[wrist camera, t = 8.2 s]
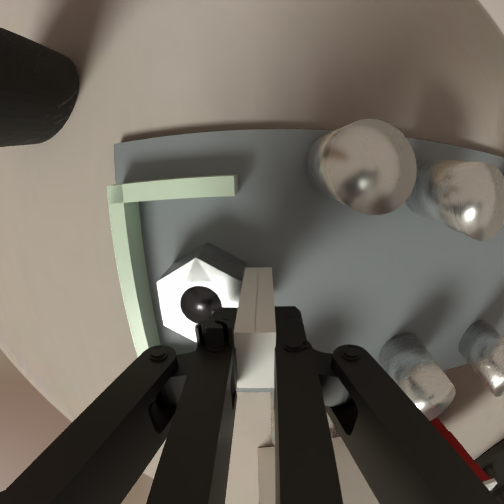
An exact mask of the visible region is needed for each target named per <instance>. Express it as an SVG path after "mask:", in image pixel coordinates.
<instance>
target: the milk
mask: <svg viewBox="0 0 504 504" xmlns="http://www.w3.org/2000/svg"><path fill="white" fill-rule="evenodd" d="M332 443H333V448H334V454H335V459H336V465H337V470H338V476H339V481H340V487H341V493H342V499H343V504H379V502H378V500H377V499H376V497H375V495H374V494H373V492H372V490H371V488H370V487H369V485H368V483H367V482H366V480H365V478H364V476H363V475H362V473H361V471H360V469H359V468H358V466H357V464H356V463H355V461H354V459H353V457H352V456H351V454H350V452H349V450H348V449H347V447H346V445H345V443H344V442H343V440H342V438H341V436H340V437H335V438H332ZM258 484H259V504H275V446H274V447H263V448H258Z"/></svg>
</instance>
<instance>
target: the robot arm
mask: <svg viewBox="0 0 504 504" xmlns="http://www.w3.org/2000/svg"><path fill="white" fill-rule="evenodd" d="M195 334H196V341H197V348H196V351H193V352H190V353H185V354H178V355H176V351H175V350H174V349H173V348H172V347H169V346H164V345H157V346H153V347H150V348H148V349H147V350H145V351H144V352H143V353H142V354H141V355H140V356H139V357H138V358H137V359H136V360H135V361H134V362H133V363H132V364H131V365H130V366H129V367H128V368H127V369H126V370H125V371H124V372H122V373H121V374H120V375H119V376H118V377H117V378H116V379H115V380H114V381H113V382H112V383H111V384H110V385H109V386H108V387H107V388H106V389H105V390H104V391H103V392H102V393H101V394H100V395H99V396H98V397H97V398H96V399H95V400H94V401H93V402H92V403H91V404H90V405H89V406H88V407H87V408H86V409H85V410H84V411H83V412H82V413H81V414H80V415H79V416H78V417H77V418H76V419H75V420H74V421H73V422H72V423H71V424H70V425H69V426H68V427H67V428H66V429H65V430H64V432H62V434H60V435H59V436H58V437H57V438H56V439H55V440H54V441H53V442H52V443H51V444H50V445H49V446H48V447H47V448H46V449H45V450H44V451H43V452H42V453H41V455H39V456H38V457H37V458H36V460H35V461H33V462H32V464H31V465H30V466H29V467H28V468H27V469H26V470H25V471H24V472H23V473H22V474H21V475H20V476H19V477H18V478H17V479H16V480H15V481H14V482H13V483H12V484H11V485H10V486H9V487H8V488H7V489H6V490H4V491H2V492H0V504H121V502H122V501H123V499H124V498H125V497H126V495H127V494H128V493H129V491H130V490H131V488H132V487H133V486H134V484H135V483H136V481H137V480H138V478H139V477H140V476H141V474H142V473H143V471H144V470H145V468H146V467H147V466H148V464H149V463H150V461H151V460H152V458H153V457H154V455H155V454H156V453H157V451H158V450H159V448H160V447H161V445H162V444H163V442H164V441H165V439H166V438H167V439H166V442H165V445H164V448H163V451H162V454H161V457H160V461H159V464H158V467H157V470H156V473H155V477H154V480H153V483H152V486H151V490H150V493H149V496H148V500H147V503H146V504H225V497H226V488H227V480H228V471H229V462H230V454H231V445H232V436H233V427H234V419H235V410H236V401H237V391H236V387H238V388H274V419H275V504H343V499H342V493H341V487H340V481H339V476H338V470H337V465H336V459H335V454H334V448H333V443H332V438H331V433H330V428H329V423H328V418H327V414H328V415H329V417H330V419H331V421H332V422H333V424H334V426H335V428H336V429H337V431H338V433H339V435H340V436H341V438H342V440H343V442H344V443H345V445H346V447H347V449H348V450H349V452H350V454H351V456H352V457H353V459H354V461H355V463H356V464H357V466H358V468H359V469H360V471H361V473H362V475H363V476H364V478H365V480H366V482H367V483H368V485H369V487H370V488H371V490H372V492H373V494H374V495H375V497H376V499H377V500H378V502H379V504H504V440H503V441H501V442H500V443H498V444H497V445H495V446H494V447H493V448H491V449H490V450H488V451H487V452H486V453H484V454H483V455H482V456H481V457H479V458H478V459H477V460H476V461H475V462H476V463H478V465H479V466H480V467H481V469H482V470H484V472H485V473H486V474H487V475H488V476H489V477H491V479H493V478H494V479H495V480H496V482H497V484H496V485H495V486H494V488H493V489H492V490H490V491H489V490H488V488H487V487H486V486H485V485H484V484H483V482H482V481H481V480H480V479H479V478H478V476H477V475H476V474H475V473H474V472H473V470H472V469H471V468H470V467H469V466H468V465H467V463H466V462H465V461H464V460H463V459H462V458H461V456H460V455H459V454H458V453H457V452H456V451H455V449H454V448H453V447H452V446H451V445H450V444H449V442H448V441H447V440H446V439H445V438H444V437H443V436H442V434H441V433H440V432H439V431H438V430H437V429H436V427H435V426H434V425H433V424H432V423H431V422H430V421H429V419H428V418H427V417H426V416H425V415H424V414H423V413H422V412H421V410H420V409H419V408H418V407H417V406H416V405H415V404H414V403H413V401H412V400H411V399H410V398H409V397H408V396H407V395H406V394H405V392H404V391H403V390H402V389H401V388H400V387H399V386H398V385H397V383H396V382H395V381H394V380H393V379H392V378H391V377H390V376H389V375H388V373H387V372H386V371H385V370H384V369H383V368H382V367H381V366H380V365H379V364H378V362H377V361H376V360H375V359H374V358H373V357H372V356H371V355H370V354H369V353H368V351H367V350H365V349H364V348H363V347H360V346H357V345H351V344H347V345H342V346H339V347H337V348H336V349H335V350H334V352H333V354H331V353H324V352H320V351H317V350H315V349H313V348H312V345H311V344H310V342H309V341H307V338H306V334H305V329H304V324H303V320H302V316H301V311H300V310H299V309H298V308H296V307H295V306H274V292H273V277H272V267H254V268H245V271H244V277H243V282H242V288H241V293H240V299H239V305H238V307H220V308H219V309H217V310H216V311H215V312H214V314H213V317H212V319H207V320H204V321H201V322H200V323H198V324H197V325H196V326H195ZM326 412H327V413H326Z"/></svg>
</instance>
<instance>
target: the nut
mask: <svg viewBox="0 0 504 504" xmlns="http://www.w3.org/2000/svg"><path fill="white" fill-rule="evenodd" d="M245 268H247V262H245V261H243V260H241V259H239V258H237V257H235V256H233V255H232V254H230V253H228V252H226V251H224V250H222V249H220V248H218V247H216V246H215V245H213V244H211V243H209V242H206V243H204V244H203V245H201V246H200V247H198V248H196V249H195V250H193V251H192V252H190V253H188V254H187V255H185V256H184V257H182V258H180V259H179V260H177V261H176V262H174V263H173V264H172V265H171V266H170V267H169V268H168V269H167V271H166V272H165V273H164V274H163V275H162V276H161V278H160V279H159V280H158V281H157V288H158V294H159V300H160V306H161V312H162V318H163V323H164V326H166V327H168V328H170V329H172V330H174V331H176V332H178V333H180V334H181V335H183V336H185V337H187V338H189V339H191V340H193V341H195V342H197V341H196V334H195V326H196V325H197V324H198V323H200V322H201V321H204V320H207V319H212V317H213V314H214V312H215V311H216V310H217V309H219V308H220V307H238V305H239V299H240V293H241V288H242V282H243V277H244V271H245Z"/></svg>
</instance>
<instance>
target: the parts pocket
mask: <svg viewBox="0 0 504 504" xmlns="http://www.w3.org/2000/svg"><path fill="white" fill-rule="evenodd" d="M237 193H238V174H235V175H213V176H196V177H182V178H170V179H158V180H148V181H138V182H129V183H121V184H116V185H111V186H107V196H108V206H109V215H110V224H111V232H112V239H113V246H114V252H115V258H116V264H117V270H118V276H119V281H120V286H121V291H122V296H123V301H124V305H125V310H126V314H127V318H128V322H129V326H130V330H131V334H132V338H133V342H134V346H135V349H136V353H137V356H138V357H139V356H140V355H141V354H142V353H143V352H144V351H145V350H147V349H148V348H150V347H153V346H157V345H161V344H160V339H159V334H158V330H157V325H156V320H155V315H154V310H153V304H152V299H151V293H150V287H149V281H148V275H147V268H146V261H145V254H144V247H143V239H142V230H141V221H140V211H139V201H152V200H166V199H182V198H200V197H223V196H235V195H236V194H237ZM176 355H177V354H176Z"/></svg>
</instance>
